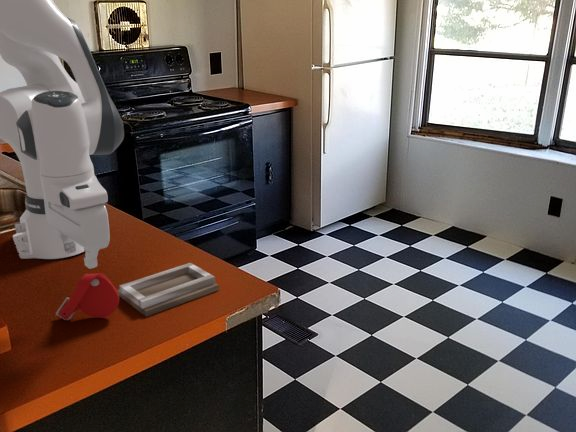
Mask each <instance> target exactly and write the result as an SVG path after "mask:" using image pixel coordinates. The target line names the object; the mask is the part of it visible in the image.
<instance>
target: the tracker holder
mask: <svg viewBox="0 0 576 432" xmlns="http://www.w3.org/2000/svg"><path fill="white" fill-rule="evenodd" d="M117 290H118V289H117V288H116V286H114V284H113V282H111V280H110V279H109V278H108V277H107V275H106V274H104V273H100V272H98V273H84V275H82V277H81V278H80V279H79V281H78V282H77V284H76V286H75V288H74V290H73V291H72V293H71V295H70V296H69V297H65V299H64V300H63V302H62V304H61V305H60V307H58V309H57V311H56V312H55V316H57V317H59V318H61V319H63V320H64V321H69V320H71V319H72V317H73V315H74V314H75V313H76V312H77V311H79V310H80V311H81V312H83V314H85V315H87V316H89V317H92V318H95V319H97V318H98V319H99V318H100V319H101V318H106V317H108V316H111V315H112V314H113V313H115V312H116V310H117V309H118V307H119V304H120V296H119V294H118V292H117Z"/></svg>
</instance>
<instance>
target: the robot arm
mask: <svg viewBox="0 0 576 432" xmlns="http://www.w3.org/2000/svg"><path fill="white" fill-rule="evenodd" d="M0 56H1V59H2V60H3V61H4V62H5V63H6V64H8V65H9V66H11V67H14V68H15V69H17V70H18V72H19V73H20V74H21V75H22V77H23V79H24V81H25V82H26V83H25V84H26V85H24V86H23V85H22V86H17V87H11V88H7V89H5V90H3V91H1V92H0V139H1V140H3V141H4V142H5V143H7V144H8V145H9V146H10V147H11V148H12V150H13V151H14V153H15V154H16V157H17V158H18V160H19V162H20V166H21V169H22V173H23V179H24V185H25V189H26V194H25V199H24V204H25V210H24V212H23V213H22V215H21V216H20V217H19V222H20V223H15V224H14V229H15V234H13V235H12V240H13V243H14V246H15V245H16V246H15V248H16V251H17V253H19V254H18V257H19V258H20V259H25V260H26V259H39V260H40V259H42V260H58V259H64V258H68V257H72V256H76V255H80V254H81V253H84V252H85V257H83V262H84V266H85V267H87V268H88V269H94V268H97V267H98V255H99V251H101V250H103V249H106V248H108V246H109V244H110V241H111V239H110V238H111V237H110V235H111V234H110V223H109V214H108V210H107V207H106V205H105V203H108V201H109V200H108V199H109V196H108V192H107V190H106V189H105V188H104V186H102V185H101V182H99V180H98V178H97V176H96V175H95V168H94V164H93V162H92V160H91V157H90V155H92V156H98V155H99V156H101V155H102V156H103V155H111V154H112V153H113V152H115V150H117V149H118V147H119V146H121V144H122V142H123V141H124V138H125V129H124V123H123V120H122V118H121V115H120V112H119V111H118V108H117V107H116V105H115V103H114V102H113V100H112V98H111V96H110V94H109V93H108V89H107V87H106V85H105V82H104V80H103V78H102V76H101V75H102V74H100V71H99V69H98V66H97V64H96V62H95V59H94V57H93V54H92V52H91V50H90V48H89V46H88V43H87V41H86V39H85V37H84V34H83V33H82V31H81V29H80V26H78V24H77V23H76V21H75V20H73V19H72V18H69V17H67V16H66V15H65V14H64V13H63V12H62V11H61V10H60V8H59V7H58V6H57V4H56V3H55V0H0ZM60 58H61V59H62V60H63V61H64V62H66V63H67V65H68V66H69V67H70V70H71V72H72V75H73V77H74V79H75V80H74V79H73V78H72V77H71V76H70V74H69V73H68V72H67V70H66V69H65V67H64V66H63V64H62V62H61V60H60Z"/></svg>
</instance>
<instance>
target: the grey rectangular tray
mask: <svg viewBox="0 0 576 432" xmlns="http://www.w3.org/2000/svg"><path fill="white" fill-rule="evenodd" d="M219 286H220V284H219V283H216V276H214V275H213V274H211V273H209V272H207V271H206V270H204V269H203V268H201V267H200V266H197V265H195V264H193V263H192V262H188V263H185V264H182V265H178V266H175V267H173V268H169V269H166V270H163V271H159V272H157V273H154V274H152V275H148V276H144V277H142V278H139V279H136V280H133V281H129V282H126V283H123V284H119V289H116V290H117V292H118V294H119V298H121V299H122V300H124V301H125V302H127V304H128V305H130V306H131V307H133V308H134V309H135V310H137V311H138V312H140V313H141V314H142V315H143V316H145V317H146V318H147V317H149V316H153V315H155V314H159V313H160V312H163V311H166V310H170V309H171V308H174V307H177V306H179V305H182V304H184V303H188V302H190V301H194V300H196V299H198V298H201V297H204V296H206V295H210V294H212V293H215V292H217V291H220V288H219Z"/></svg>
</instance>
